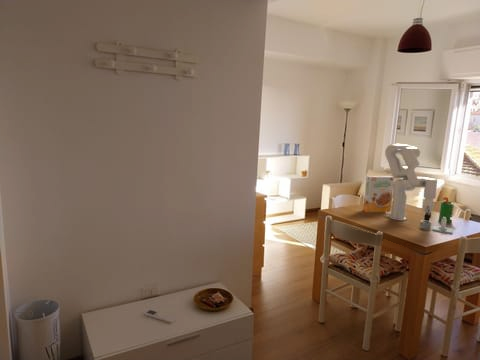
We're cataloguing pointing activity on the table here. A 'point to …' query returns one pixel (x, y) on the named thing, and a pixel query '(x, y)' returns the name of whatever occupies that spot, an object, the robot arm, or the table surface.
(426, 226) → the hub
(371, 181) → the cereal box
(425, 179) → the robot arm
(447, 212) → the green toy figure
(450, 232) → the shaft block
